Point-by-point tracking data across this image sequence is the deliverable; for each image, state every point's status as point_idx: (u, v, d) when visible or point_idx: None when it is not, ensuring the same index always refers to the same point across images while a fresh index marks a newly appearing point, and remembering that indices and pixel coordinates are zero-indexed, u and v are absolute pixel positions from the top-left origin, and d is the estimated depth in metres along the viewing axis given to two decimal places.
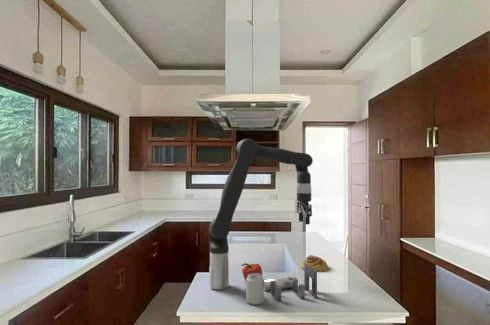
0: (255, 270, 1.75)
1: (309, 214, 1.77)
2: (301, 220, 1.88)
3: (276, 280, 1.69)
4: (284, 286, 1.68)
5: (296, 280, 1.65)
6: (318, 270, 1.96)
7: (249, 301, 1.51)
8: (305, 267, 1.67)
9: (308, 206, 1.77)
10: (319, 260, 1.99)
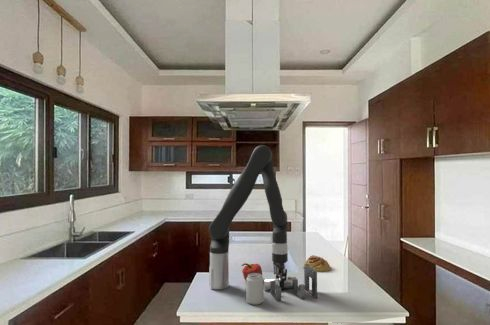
0: (255, 270, 1.75)
1: (283, 279, 1.65)
2: None
3: (276, 280, 1.69)
4: (284, 286, 1.68)
5: (296, 280, 1.65)
6: (320, 270, 1.96)
7: (249, 301, 1.51)
8: (305, 267, 1.67)
9: (283, 271, 1.64)
10: (321, 260, 1.99)
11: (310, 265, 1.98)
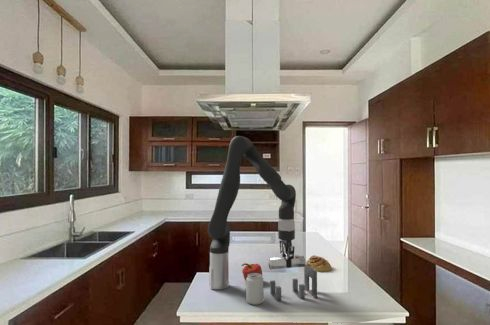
0: (255, 270, 1.75)
1: (291, 257, 1.55)
2: None
3: (283, 258, 1.59)
4: None
5: (296, 280, 1.65)
6: (321, 270, 1.96)
7: (249, 301, 1.51)
8: (305, 267, 1.67)
9: (290, 249, 1.54)
10: (322, 260, 1.99)
11: (311, 265, 1.98)
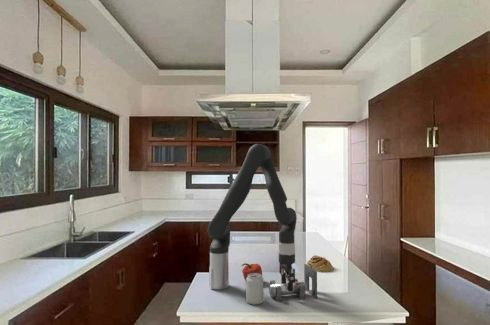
0: (255, 270, 1.75)
1: (292, 280, 1.54)
2: None
3: (283, 285, 1.59)
4: (291, 292, 1.58)
5: (296, 280, 1.65)
6: (323, 270, 1.95)
7: (249, 301, 1.51)
8: (305, 267, 1.67)
9: (291, 271, 1.54)
10: (324, 260, 1.99)
11: (312, 265, 1.98)
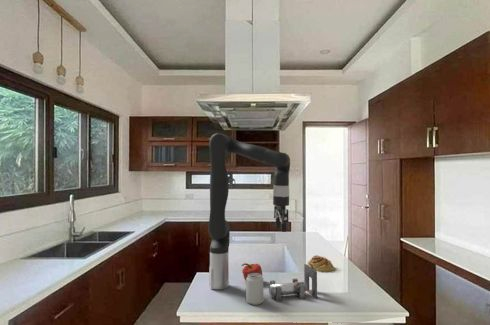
0: (255, 270, 1.75)
1: (285, 220, 1.58)
2: (278, 226, 1.69)
3: (283, 285, 1.59)
4: (291, 292, 1.58)
5: (296, 280, 1.65)
6: (324, 270, 1.95)
7: (249, 301, 1.51)
8: (305, 267, 1.67)
9: (284, 211, 1.58)
10: (324, 260, 1.99)
11: (313, 265, 1.98)
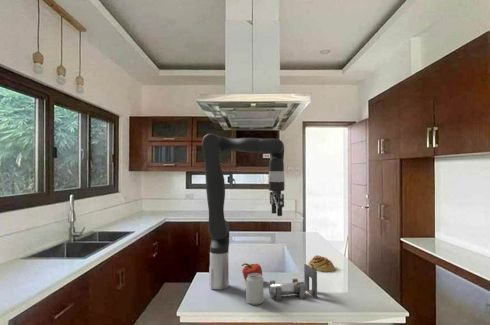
0: (255, 270, 1.75)
1: (281, 205, 1.61)
2: (274, 212, 1.72)
3: (283, 285, 1.59)
4: (291, 292, 1.58)
5: (296, 280, 1.65)
6: (325, 270, 1.95)
7: (249, 301, 1.51)
8: (305, 267, 1.67)
9: (280, 196, 1.61)
10: (325, 260, 1.99)
11: (314, 265, 1.98)
